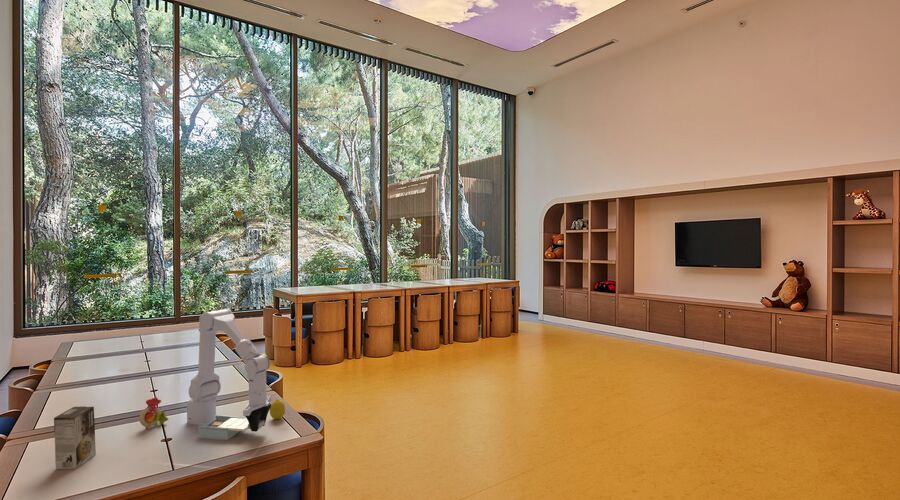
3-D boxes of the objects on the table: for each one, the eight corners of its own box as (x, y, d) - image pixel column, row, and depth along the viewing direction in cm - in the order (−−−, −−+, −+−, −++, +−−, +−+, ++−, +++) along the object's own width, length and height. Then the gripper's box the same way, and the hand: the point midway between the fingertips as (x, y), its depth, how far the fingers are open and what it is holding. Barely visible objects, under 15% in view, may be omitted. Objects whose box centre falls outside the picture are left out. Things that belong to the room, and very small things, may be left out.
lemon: (280, 423, 179) (279, 402, 179) (266, 422, 180) (266, 401, 180) (287, 417, 184) (287, 397, 184) (274, 416, 185) (274, 396, 185)
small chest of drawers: (216, 429, 165) (216, 424, 165) (231, 419, 173) (231, 415, 173) (254, 432, 163) (254, 427, 163) (267, 422, 171) (267, 417, 171)
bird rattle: (154, 435, 173) (174, 417, 180) (141, 412, 168) (162, 394, 176) (142, 433, 175) (162, 415, 182) (129, 410, 170) (150, 392, 178)
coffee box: (75, 455, 153) (73, 406, 152) (96, 454, 154) (95, 405, 153) (54, 469, 144) (52, 417, 143) (76, 469, 144) (75, 416, 144)
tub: (198, 439, 165) (198, 426, 165) (216, 427, 175) (216, 415, 175) (227, 441, 164) (227, 428, 163) (244, 429, 173) (244, 417, 173)
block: (211, 431, 170) (211, 425, 170) (215, 428, 173) (215, 421, 173) (219, 431, 170) (219, 425, 170) (223, 428, 173) (223, 421, 173)
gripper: (256, 398, 159) (257, 438, 159) (278, 384, 173) (279, 420, 174) (237, 396, 160) (237, 436, 160) (260, 383, 174) (261, 419, 175)
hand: (258, 428), depth 167 cm, fingers closed on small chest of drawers, 4 cm apart
